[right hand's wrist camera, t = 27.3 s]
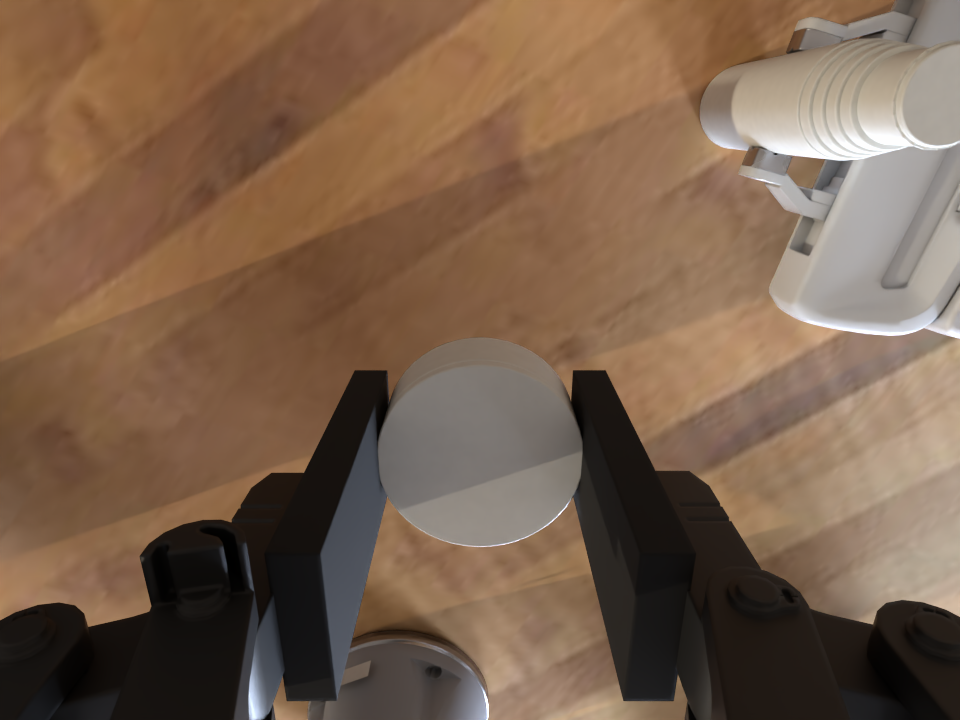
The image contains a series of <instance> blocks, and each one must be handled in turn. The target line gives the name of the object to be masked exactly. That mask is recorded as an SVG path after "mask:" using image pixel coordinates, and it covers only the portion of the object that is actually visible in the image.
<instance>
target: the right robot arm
mask: <svg viewBox="0 0 960 720" xmlns="http://www.w3.org/2000/svg"><path fill="white" fill-rule="evenodd" d="M571 404H572V407H573V410H574V413H575V416H576V419H577V422H578V425H579V428H580V432H581V436H582V439H583V450H582V465H581V479H580V482H579V485H578V487H577V489H576V491H575V493H574V496H573V497H574V501H575V506H576V510H577V514H578V518H579V522H580V526H581V530H582V534H583V538H584V542H585V546H586V550H587V554H588V558H589V563H590V567H591V571H592V575H593V579H594V583H595V587H596V591H597V595H598V599H599V603H600V607H601V611H602V615H603V620H604V624H605V628H606V632H607V636H608V640H609V644H610V648H611V652H612V656H613V660H614V664H615V668H616V672H617V677H618V681H619V685H620V689H621V693H622V697H623V701H674V695H675V689H676V682H677V676H678V675H679V678H680V681H681V683H682V686H683V689H684V692H685V695H686V697H687V700H688V702H687V708H686V714H685V720H960V617H958V616H957V615H955V614H953V613H951V612H949V611H947V610H945V609H941V608H938V607H935V606H932V605H929V604H926V603H923V602H914V601H906V600H900V601H895V602H889V603H886V604H885V605H884V606H882V607H881V608H880V609H879V610H878V611H877V613H876V617H875V620H874V624H873V625H872V624H867V623H863V622H859V621H854V620H850V619H846V618H841V617H837V616H832V615H828V614H825V613H822V612H818V611H815V610H812V609H810V608H809V606H808V604H807V603H806V601H805V599H804V598H803V596H802V595H801V593H800V592H799V591H798V590H797V589H795V588H794V587H793V586H792V585H790V584H789V583H788V582H787V581H786V580H784V579H782V578H780V577H778V576H776V575H774V574H772V573H770V572H767V571H764V570H761V568H760V567H759V565H758V564H757V562H756V560H755V559H754V557H753V556H752V554H751V552H750V551H749V549H748V547H747V546H746V544H745V543H744V541H743V539H742V538H741V536H740V535H739V533H738V531H737V530H736V528H735V527H734V525H733V523H732V522H731V521H729V517H728V515H727V514H726V512H725V511H724V509H723V507H720V503H719V501H718V499H717V498H716V496H715V495H714V493H713V491H712V490H711V488H710V486H709V485H707V484H706V483H705V482H703V481H702V480H700V479H699V478H698V477H696V476H695V475H694V474H692V473H691V472H690V471H655V469H654V467H653V465H652V463H651V461H650V459H649V457H648V455H647V453H646V451H645V449H644V447H643V445H642V443H641V441H640V439H639V437H638V435H637V433H636V431H635V429H634V427H633V425H632V423H631V421H630V419H629V417H628V415H627V413H626V411H625V409H624V407H623V405H622V403H621V401H620V399H619V397H618V395H617V393H616V391H615V389H614V387H613V385H612V383H611V381H610V379H609V377H608V375H607V373H606V371H605V370H573V380H572V397H571ZM388 405H389V390H388V373H387V370H355V371H354V373H353V375H352V377H351V379H350V381H349V383H348V385H347V388H346V390H345V392H344V394H343V396H342V398H341V400H340V402H339V404H338V406H337V408H336V410H335V412H334V414H333V416H332V418H331V420H330V422H329V424H328V426H327V428H326V430H325V432H324V434H323V436H322V438H321V440H320V442H319V444H318V446H317V448H316V450H315V452H314V454H313V456H312V458H311V460H310V462H309V464H308V466H307V468H306V470H305V472H304V473H271V474H269V475H268V476H267V477H265V478H264V479H263V480H261V481H260V482H259V483H257V484H256V485H255V486H253V487H252V488H251V490H250V491H249V493H248V494H247V496H246V498H245V499H244V501H243V503H242V504H241V509H238V511H237V512H236V514H235V515H234V517H233V519H232V523H231V522H228V521H224V520H201V521H197V522H192V523H188V524H183V525H181V526H179V527H176V528H174V529H172V530H169V531H167V532H165V533H163V534H162V535H160V536H159V537H158V538H156V539H155V540H153V541H152V542H151V543H149V544H148V546H147V547H146V548H145V550H144V551H143V552H142V554H141V555H140V560H141V564H142V568H143V573H144V577H145V581H146V585H147V589H148V593H149V597H150V602H151V606H152V607H151V609H150V612H147V613H144V614H141V615H137V616H134V617H130V618H126V619H122V620H117V621H113V622H108V623H104V624H100V625H95V626H91V627H88V625H87V622H86V618H85V615H84V613H83V612H82V611H81V610H79V609H78V608H77V607H76V606H75V605H69V604H64V603H51V604H43V605H37V606H34V607H31V608H28V609H24V610H21V611H18V612H15V613H13V614H12V615H10V616H8V617H6V618H4V619H2V620H0V720H275V714H274V708H273V702H274V699H275V696H276V693H277V690H278V688H279V685H280V682H281V679H282V676H283V679H284V686H285V693H286V699H287V701H309V705H308V720H488V691H487V686H486V683H485V680H484V678H483V675H482V673H481V672H480V670H479V668H478V667H477V666H476V664H475V663H474V662H473V661H472V660H471V659H470V658H469V657H468V656H467V655H466V654H465V653H464V652H462V651H461V650H460V649H458V648H457V647H455V646H453V645H452V644H450V643H448V642H446V641H444V640H442V639H439V638H436V637H434V636H430V635H427V634H423V633H418V632H412V631H399V630H396V631H381V632H375V633H370V634H366V635H363V636H360V637H357V638H355V639H352V637H353V633H354V629H355V625H356V621H357V617H358V613H359V609H360V605H361V601H362V597H363V593H364V589H365V584H366V580H367V576H368V572H369V568H370V564H371V560H372V556H373V552H374V548H375V544H376V540H377V536H378V532H379V527H380V523H381V519H382V515H383V511H384V507H385V503H386V499H387V494H386V493H385V490H384V488H383V486H382V483H381V481H380V474H379V460H378V438H379V434H380V430H381V427H382V424H383V421H384V418H385V415H386V412H387V409H388Z"/></svg>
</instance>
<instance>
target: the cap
mask: <svg viewBox="0 0 960 720" xmlns="http://www.w3.org/2000/svg"><path fill="white" fill-rule="evenodd" d="M582 450H583V439H582V436H581V432H580V428H579V425H578V422H577V419H576V416H575V413H574V410H573V407H572V404H571V400H570V397H569V394H568V392H567V390H566V388H565V385H564V384H563V382H562V380H561V379H560V377H559V376H558V374H557V373H556V372H555V371H554V370H553V368H552V367H551V366H550V365H549V364H548V363H547V362H545V361H544V360H543V359H542V358H541V357H539V356H538V355H536V354H535V353H533V352H532V351H530V350H528V349H526V348H524V347H522V346H520V345H518V344H515V343H512V342H509V341H505V340H500V339H495V338H484V337H480V338H466V339H460V340H455V341H452V342H449V343H445V344H443V345H441V346H438V347H436V348H434V349H432V350H431V351H429V352H427V353H426V354H424V355H422V356H421V357H420V358H419V359H417V360H416V361H415V362H414V363H413V364H412V365H411V366H410V367H409V368H408V369H407V370H406V371H405V373H404V374H403V375H402V377H401V378H400V380H399V381H398V383H397V385H396V387H395V389H394V391H393V394H392V396H391V399H390V402H389V405H388V409H387V412H386V415H385V418H384V421H383V424H382V427H381V430H380V434H379V438H378V460H379V474H380V481H381V483H382V486H383V488H384V490H385V493H386V494H387V496H388V498H389V499H390V501H391V503H392V504H393V505H394V507H395V508H396V509H397V510H398V512H399V513H400V514H401V515H402V516H403V517H404V518H405V519H406V520H407V521H409V522H410V523H411V524H413V525H414V526H415V527H417V528H418V529H420V530H421V531H423V532H425V533H427V534H428V535H430V536H433V537H435V538H437V539H440V540H443V541H446V542H449V543H453V544H458V545H463V546H474V547H486V546H497V545H503V544H507V543H511V542H515V541H518V540H521V539H523V538H526V537H528V536H530V535H532V534H534V533H536V532H538V531H539V530H541V529H542V528H544V527H545V526H547V525H548V524H550V523H551V522H552V521H553V520H554V519H555V518H556V517H558V515H559V514H560V513H561V512H562V511H563V510H564V509H565V508H566V506H567V505H568V503H569V502H570V500H571V499H572V497H573V496H574V493H575V491H576V489H577V487H578V485H579V482H580V479H581V465H582Z"/></svg>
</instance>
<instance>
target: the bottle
mask: <svg viewBox="0 0 960 720" xmlns="http://www.w3.org/2000/svg"><path fill="white" fill-rule="evenodd" d="M700 121H701V125H702V128H703V130H704V132H705V134H706V135H707V136H708V138H709V139H710V140H711V141H713V142H714V143H715V144H717V145H719V146H721V147H724V148H730V149H739V150H748V148H749V147H757V148H763V149H766V150H770V151H772V152H773V153H776V154H785V155H794V156H803V157H812V158H821V159H830V160H857V159H864V158H867V157H871V156H875V155H879V154H882V153H887V152H890V151H894V150H899V149H903V148H906V147H908V146H914V147H917V148H920V149H924V150H940V149H945V148H949V147H952V146H954V145H957V144H959V143H960V41H948V42H943V43H939V44H936V45H934V46H932V47H929V48H927V47H925V46H922V45H916V44H910V43H904V42H898V41H892V40H888V39H882V38H871V39H869V38H868V39H856V40H851V41H846V42H841V43H837V44H832V45H828V46H823V47H818V48H814V49H809V50H804V51H800V52H795V53H791V54H786V55H781V56H777V57H772V58H767V59H763V60H758V61H754V62H749V63H744V64H740V65H735V66H732V67H730V68H727V69H725V70H724V71H722V72H721V73H719V74H718V75H717V76H716V77H715V78H714V79H713V80H712V81H711V82H710V84H709V85H708V87H707V88H706V90H705V92H704V94H703V97H702V100H701V104H700Z"/></svg>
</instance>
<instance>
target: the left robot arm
mask: <svg viewBox="0 0 960 720" xmlns="http://www.w3.org/2000/svg"><path fill="white" fill-rule="evenodd" d="M860 36H862V37H860ZM856 37H860V38H859V39H868V38H869V39H871V38H882V39H888V40H892V41H898V42H904V43H910V44H916V45H922V46H925V47H927V48H929V47H932V46H934V45H936V44H939V43H943V42H948V41H960V0H895V2H894V4H893V6H892V8H891V11H890V12H888V13H884V14H880V15H877V16H873V17H869V18H865V19H862V20H858V21H855V22H851V23H848V24H844V25H841V24H838V23H835V22H831V21H828V20H825V19H822V18H817V17H808V18H804V19H801V20H798V23H797V25H796V28H795V31H794V33H793V36H792V38H791V41H790V43H789V46H788V48H787V51H786V52H787V54H791V53H795V52H800V51H804V50H809V49H814V48H818V47H823V46H828V45H832V44H837V43H841V42H842V41H846V40H849V39H853V38H856ZM791 159H792V157H790V156H787V155H784V154H776V153H773V152H772V151H770V150H766V149H763V148H757V147H749V148H748V151H747V153H746V156H745V158H744V160H743V163H742V165H741V167H740V170H739V173H738V174H739V175H741V176H745V177H748V178H752V179H755V180H759V181H762V182H766V184H765V185H766V187H767V188H768V189H769V190H770V192H771V193H772V194H773V196H774V197H775V198H776V199H777V201H778V202H779V203H780V204H781V206H782V207H783V208H784V209H785V210H787V211H790V212H793V213H797V214H800V218H799V220H798V222H797V224H796V227H795V229H794V231H793V234H792V236H791V238H790V240H789V243H788V245H787V247H786V250H785V252H784V254H783V256H782V259H781V261H780V263H779V265H778V268H777V270H776V272H775V275H774V277H773V279H772V281H771V283H770V286H769V293H770V295H771V297H772V299H773V300H774V302H775V303H776V305H777V306H778V307H779V308H780V309H781V310H782V311H784V312H785V313H787V314H789V315H791V316H792V317H794V318H796V319H799V320H801V321H804V322H807V323H810V324H814V325H818V326H823V327H828V328H832V329H838V330H844V331H850V332H857V333H865V334H875V335H890V336H892V335H904V334H909V333H912V332H915V331H918V330H920V329H922V328H926V329H929V330H932V331H935V332H938V333H941V334H944V335H948V336H951V337H956V338H960V143H959V144H957V145H954V146H952V147H949V148H945V149H940V150H924V149H920V148H917V147H914V146H908V147H906V148H903V149H899V150H894V151H890V152H887V153H882V154H879V155H875V156H871V157H867V158H864V159H857V160H830V159H825V161H824V163H823V165H822V168H821V170H820V172H819V174H818V177H817V179H816V181H815V184H814V186H813V188H812V189H811V188H806V187H801V186H797V185H796V184H795V183H794V181H793V180H792V179H791V178H790V177H789V176H788V174H787V173H786V172H787V169H788V166H789V164H790V161H791Z"/></svg>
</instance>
